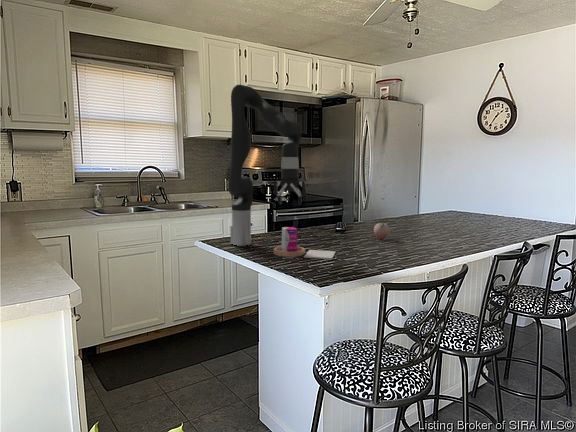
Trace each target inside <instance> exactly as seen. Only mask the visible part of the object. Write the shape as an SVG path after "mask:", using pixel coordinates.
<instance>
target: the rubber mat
mask: <svg viewBox="0 0 576 432" xmlns="http://www.w3.org/2000/svg"><path fill="white" fill-rule="evenodd" d="M336 253H337V252H336V251H335V250H334V251H332V250H320V249H319V250H315V249H309V250H308V251H307V252H305V254H304V255H303V258H306V259H307V258H309V259H321V260H322V259H324V260H333V258H334V256H335V255H336Z"/></svg>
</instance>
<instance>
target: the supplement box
mask: <svg viewBox="0 0 576 432" xmlns="http://www.w3.org/2000/svg"><path fill="white" fill-rule="evenodd" d="M281 246H282V251H285V252H294V251H297V246H298V229H297V228H296V227H294V226H291V227H290V226H284V227H281Z"/></svg>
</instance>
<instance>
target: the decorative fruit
mask: <svg viewBox="0 0 576 432" xmlns="http://www.w3.org/2000/svg"><path fill="white" fill-rule="evenodd" d="M373 233H374V235H375V237H376V238H378V239H379V240H384V239H385V238H387V237H389V235H390V233H391V227H390V226H389V225H388V224H387V223H385V222H383V221H382V220H381V221H380V222H378V223H376V224H375V225H374V227H373Z"/></svg>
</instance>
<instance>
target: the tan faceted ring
mask: <svg viewBox="0 0 576 432" xmlns="http://www.w3.org/2000/svg"><path fill="white" fill-rule="evenodd" d="M273 255H275V256H279V257H286V258H287V257H288V258H295V257H300V256H305V255H306V248H304V247H302V246H298V245H297V251H294V252H285V251H282V245H279V246H275V247H273Z"/></svg>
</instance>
